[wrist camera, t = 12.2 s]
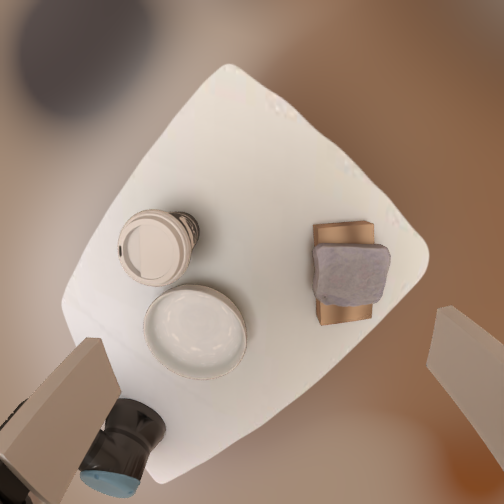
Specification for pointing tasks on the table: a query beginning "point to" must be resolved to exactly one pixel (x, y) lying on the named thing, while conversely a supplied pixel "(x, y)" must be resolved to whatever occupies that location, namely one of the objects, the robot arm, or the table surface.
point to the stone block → (350, 273)
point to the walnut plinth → (352, 235)
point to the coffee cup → (157, 246)
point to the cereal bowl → (195, 332)
